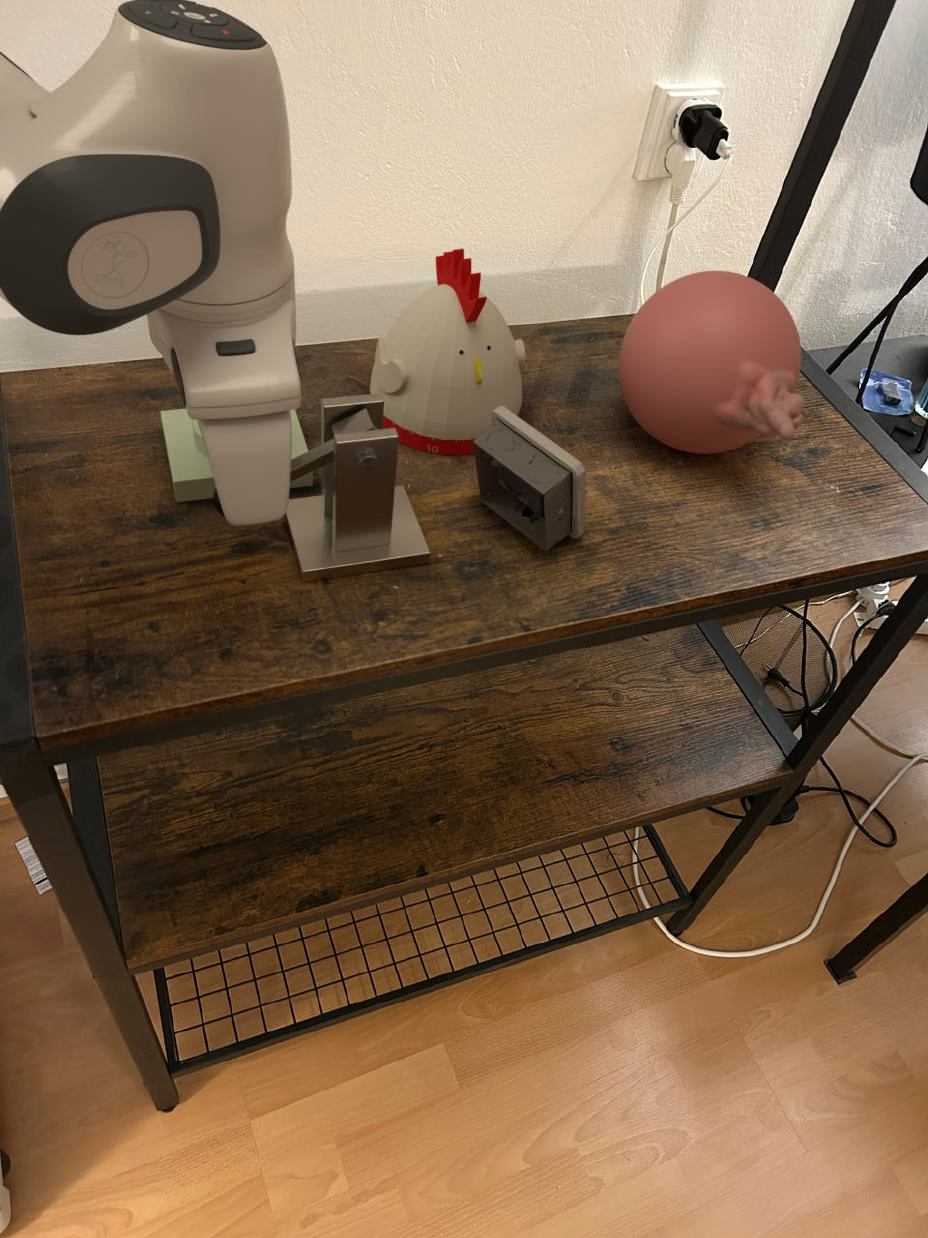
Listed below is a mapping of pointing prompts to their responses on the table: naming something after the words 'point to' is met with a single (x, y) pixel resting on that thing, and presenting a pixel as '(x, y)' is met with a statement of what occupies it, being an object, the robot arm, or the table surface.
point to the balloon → (712, 364)
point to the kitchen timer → (448, 364)
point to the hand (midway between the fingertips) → (238, 480)
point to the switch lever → (320, 450)
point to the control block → (192, 457)
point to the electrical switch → (530, 480)
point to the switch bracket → (356, 502)
